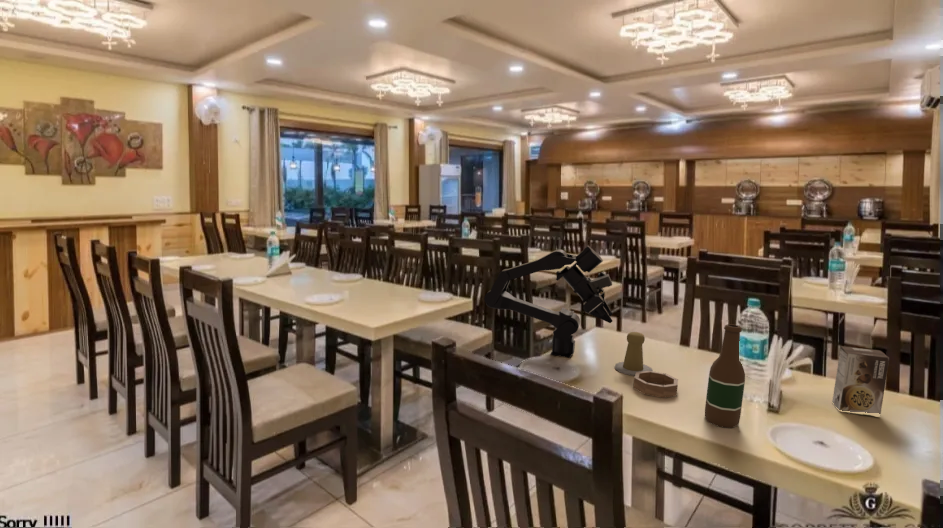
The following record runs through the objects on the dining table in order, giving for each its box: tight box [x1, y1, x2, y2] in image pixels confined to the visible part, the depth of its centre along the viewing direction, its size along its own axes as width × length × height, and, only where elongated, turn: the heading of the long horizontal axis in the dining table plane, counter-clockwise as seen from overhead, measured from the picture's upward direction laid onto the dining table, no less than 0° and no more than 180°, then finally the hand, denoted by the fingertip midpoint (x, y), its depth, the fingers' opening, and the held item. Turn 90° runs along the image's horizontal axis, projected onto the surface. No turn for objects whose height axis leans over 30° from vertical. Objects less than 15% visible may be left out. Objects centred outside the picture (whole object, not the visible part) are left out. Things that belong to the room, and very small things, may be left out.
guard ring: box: [632, 370, 679, 398], centre depth 146 cm, size 11×11×3 cm
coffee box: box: [831, 345, 890, 414], centre depth 136 cm, size 9×6×16 cm
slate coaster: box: [614, 361, 654, 377], centre depth 160 cm, size 11×11×1 cm
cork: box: [623, 331, 646, 371], centre depth 159 cm, size 6×6×11 cm
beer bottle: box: [704, 323, 746, 429], centre depth 125 cm, size 8×8×24 cm
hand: (611, 318), depth 167 cm, fingers open, 9 cm apart
